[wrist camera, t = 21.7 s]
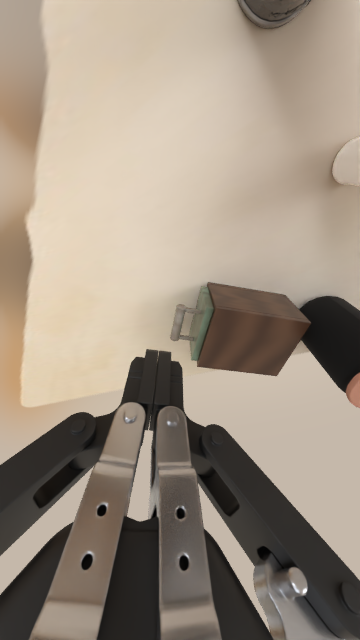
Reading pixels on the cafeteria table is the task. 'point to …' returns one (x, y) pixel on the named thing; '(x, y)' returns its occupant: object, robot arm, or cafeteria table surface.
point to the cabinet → (250, 330)
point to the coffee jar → (335, 341)
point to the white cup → (348, 163)
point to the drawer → (194, 322)
